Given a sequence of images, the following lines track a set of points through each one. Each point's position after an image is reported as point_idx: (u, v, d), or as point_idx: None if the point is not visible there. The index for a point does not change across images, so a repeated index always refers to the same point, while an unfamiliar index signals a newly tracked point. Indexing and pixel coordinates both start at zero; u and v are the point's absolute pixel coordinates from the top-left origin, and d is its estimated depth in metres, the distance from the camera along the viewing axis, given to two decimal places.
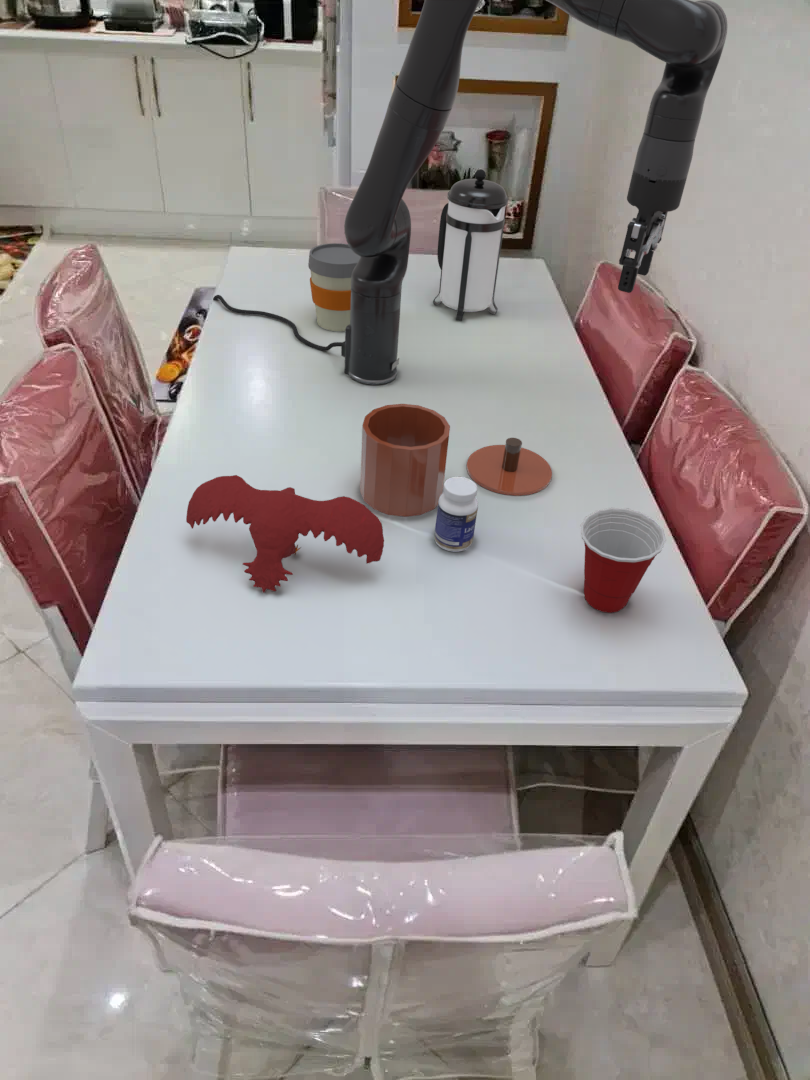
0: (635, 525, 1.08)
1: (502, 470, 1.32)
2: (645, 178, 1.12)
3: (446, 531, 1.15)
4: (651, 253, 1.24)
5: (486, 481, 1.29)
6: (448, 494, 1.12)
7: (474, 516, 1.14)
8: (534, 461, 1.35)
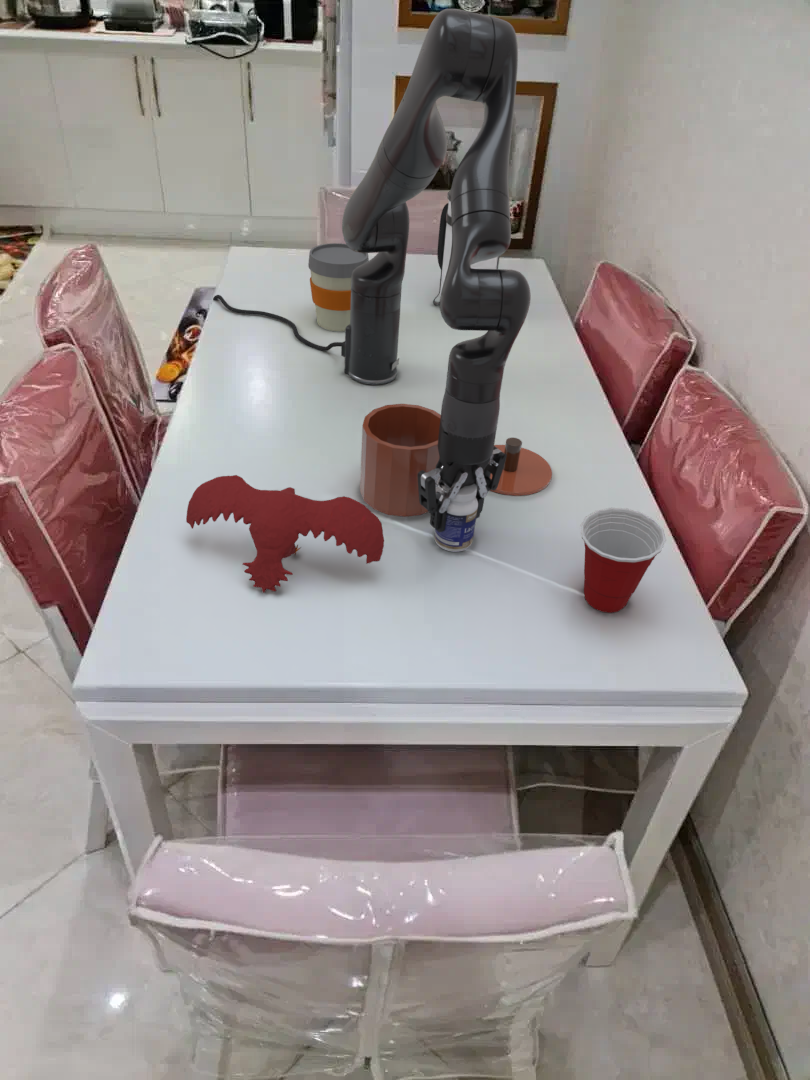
0: (635, 525, 1.08)
1: (502, 470, 1.32)
2: (441, 427, 1.05)
3: (446, 531, 1.15)
4: (478, 499, 1.15)
5: None
6: None
7: (474, 516, 1.14)
8: (534, 461, 1.35)
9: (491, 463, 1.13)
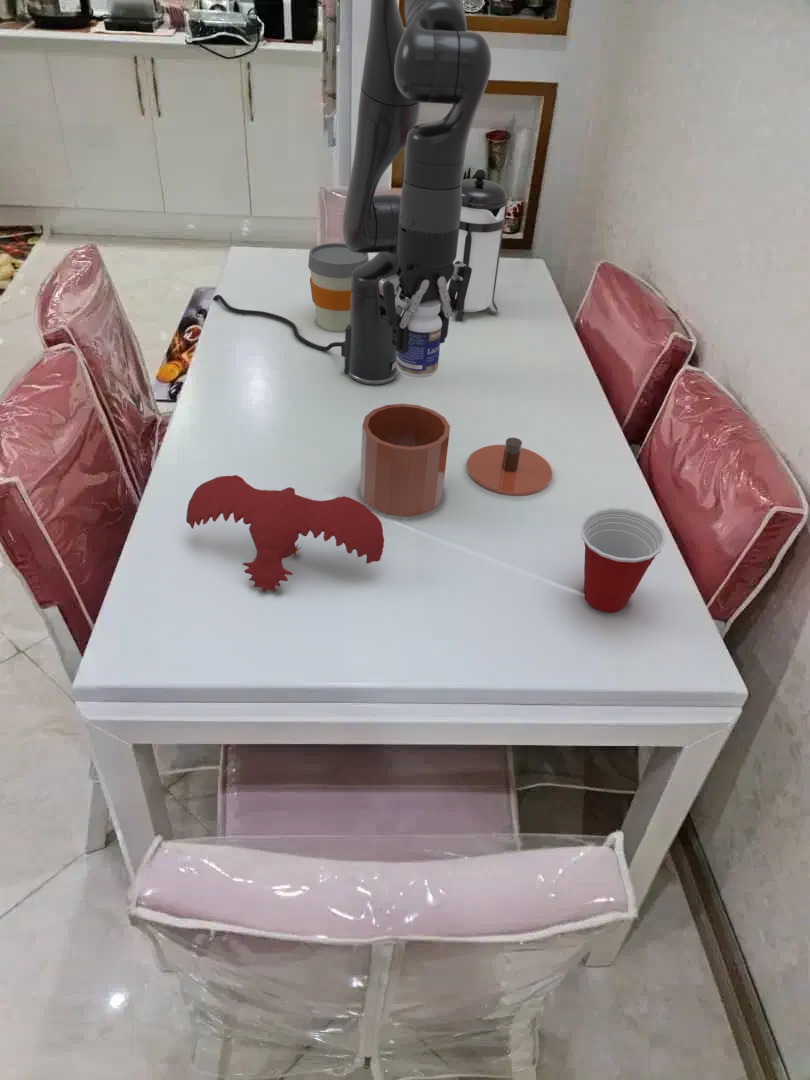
0: (635, 525, 1.08)
1: (502, 470, 1.32)
2: (400, 225, 0.99)
3: (408, 353, 1.08)
4: (442, 320, 1.09)
5: (486, 481, 1.29)
6: None
7: (438, 336, 1.08)
8: (534, 461, 1.35)
9: (455, 278, 1.07)
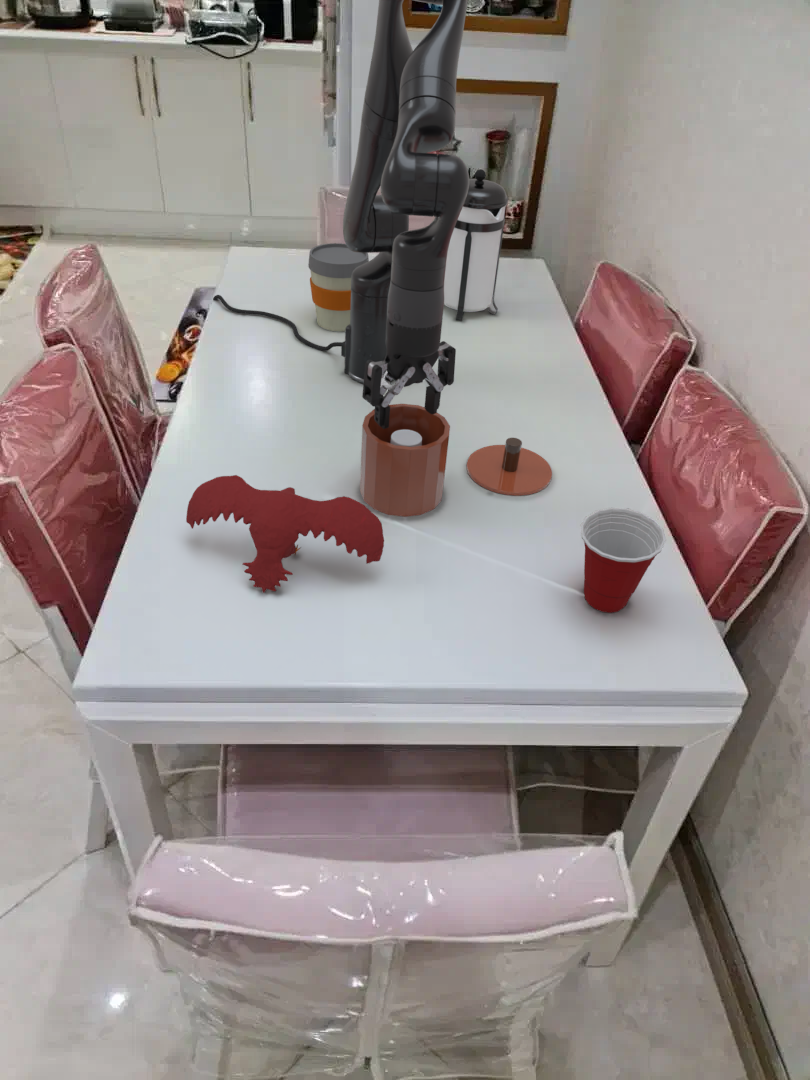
0: (635, 525, 1.08)
1: (502, 470, 1.32)
2: (388, 319, 1.08)
3: None
4: (434, 394, 1.18)
5: (486, 481, 1.29)
6: None
7: None
8: (534, 461, 1.35)
9: (442, 359, 1.15)
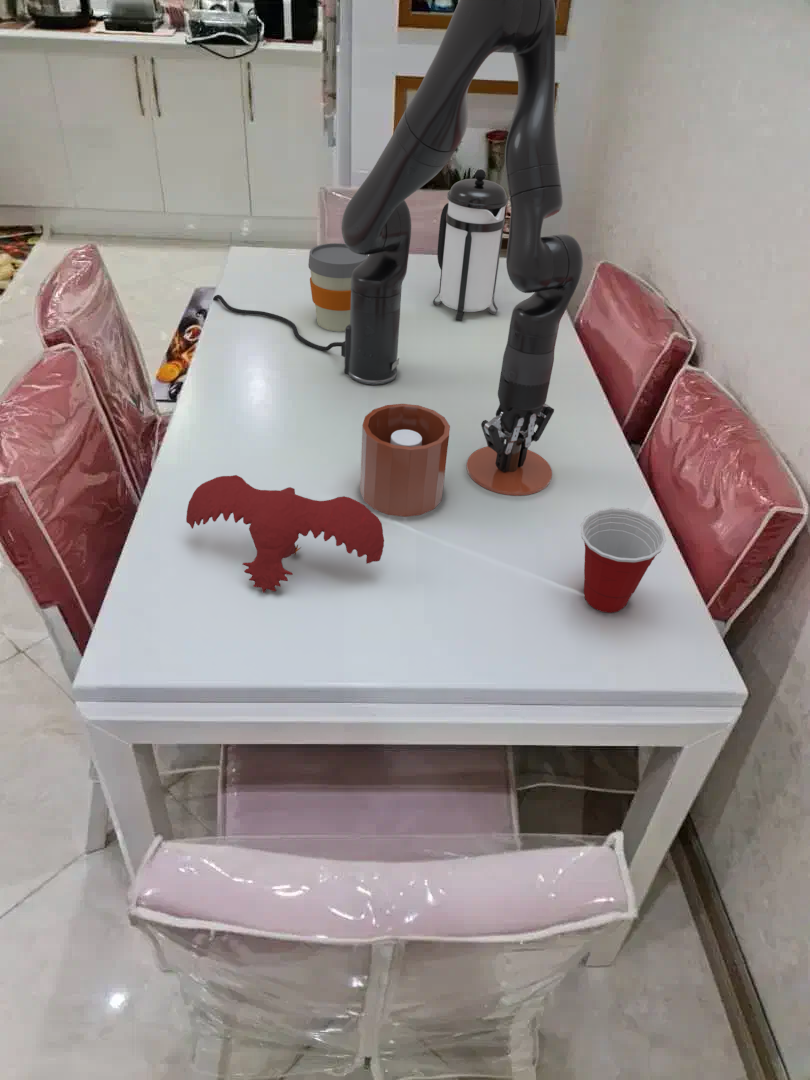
0: (635, 525, 1.08)
1: None
2: (503, 377, 1.21)
3: None
4: (522, 449, 1.31)
5: (486, 481, 1.29)
6: None
7: None
8: (534, 461, 1.35)
9: (540, 414, 1.29)
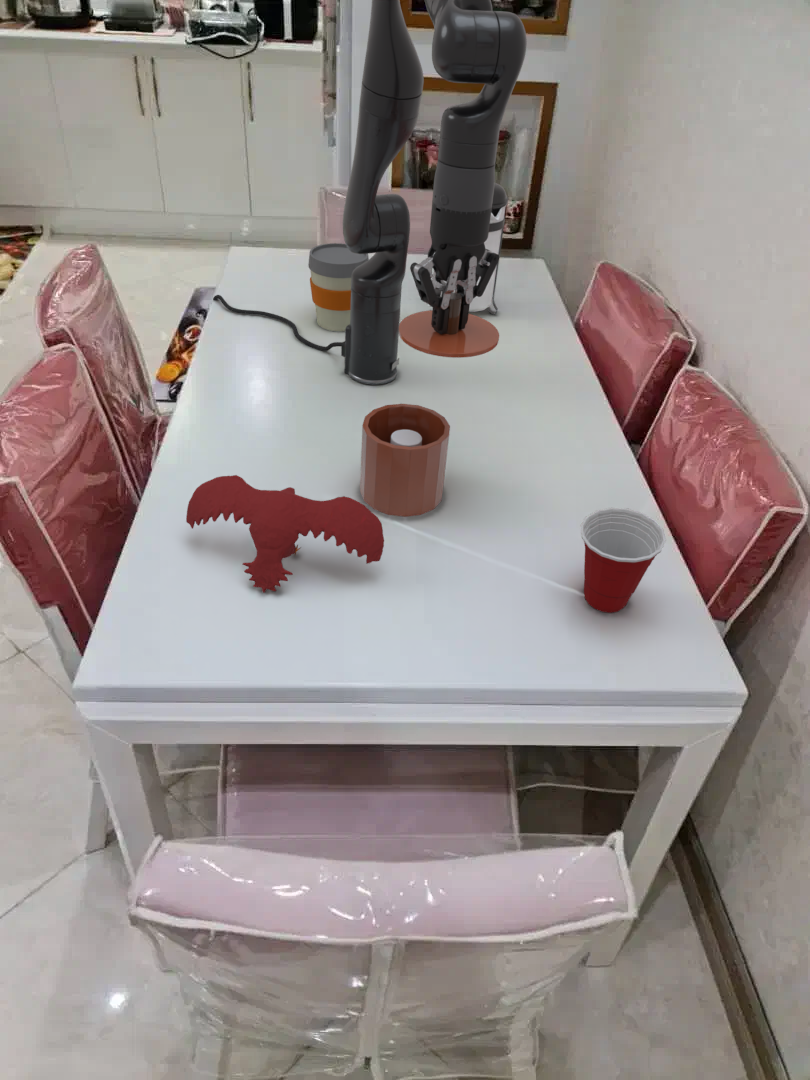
0: (635, 525, 1.08)
1: None
2: (434, 205, 1.00)
3: None
4: (463, 306, 1.10)
5: (420, 342, 1.08)
6: None
7: None
8: (479, 325, 1.14)
9: (483, 262, 1.08)
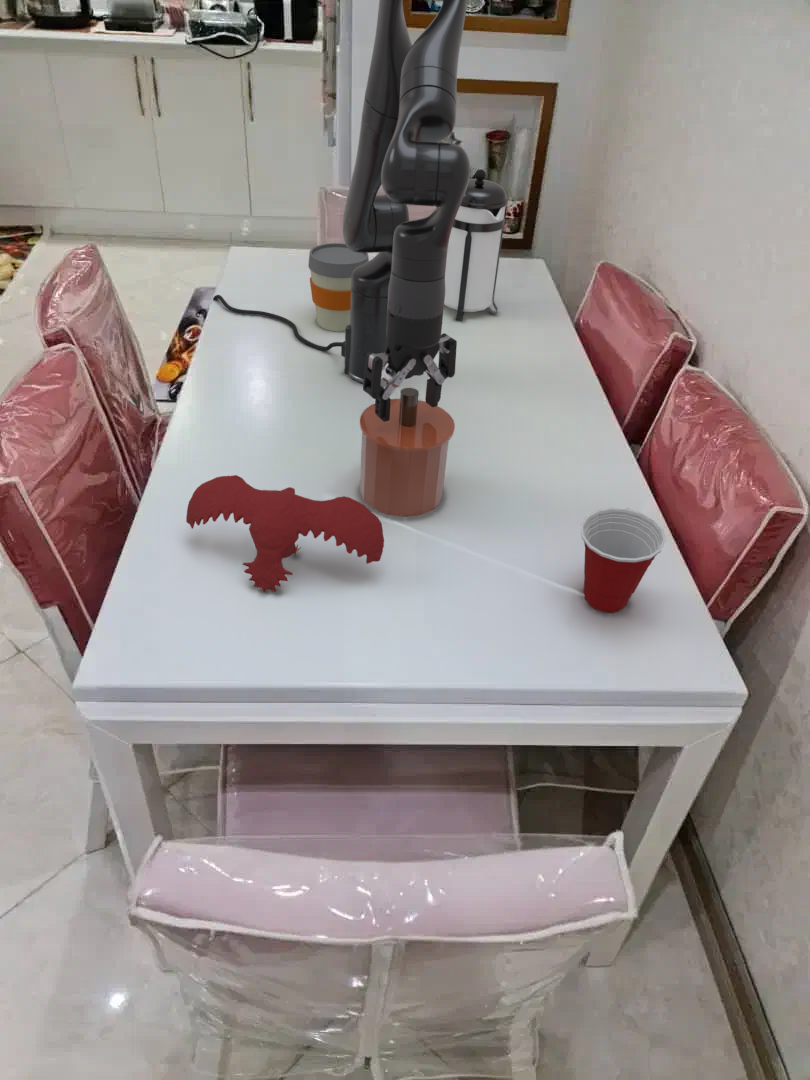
0: (635, 525, 1.08)
1: (398, 424, 1.18)
2: (388, 311, 1.07)
3: None
4: (435, 386, 1.17)
5: (378, 436, 1.15)
6: None
7: None
8: (436, 416, 1.21)
9: (443, 351, 1.15)
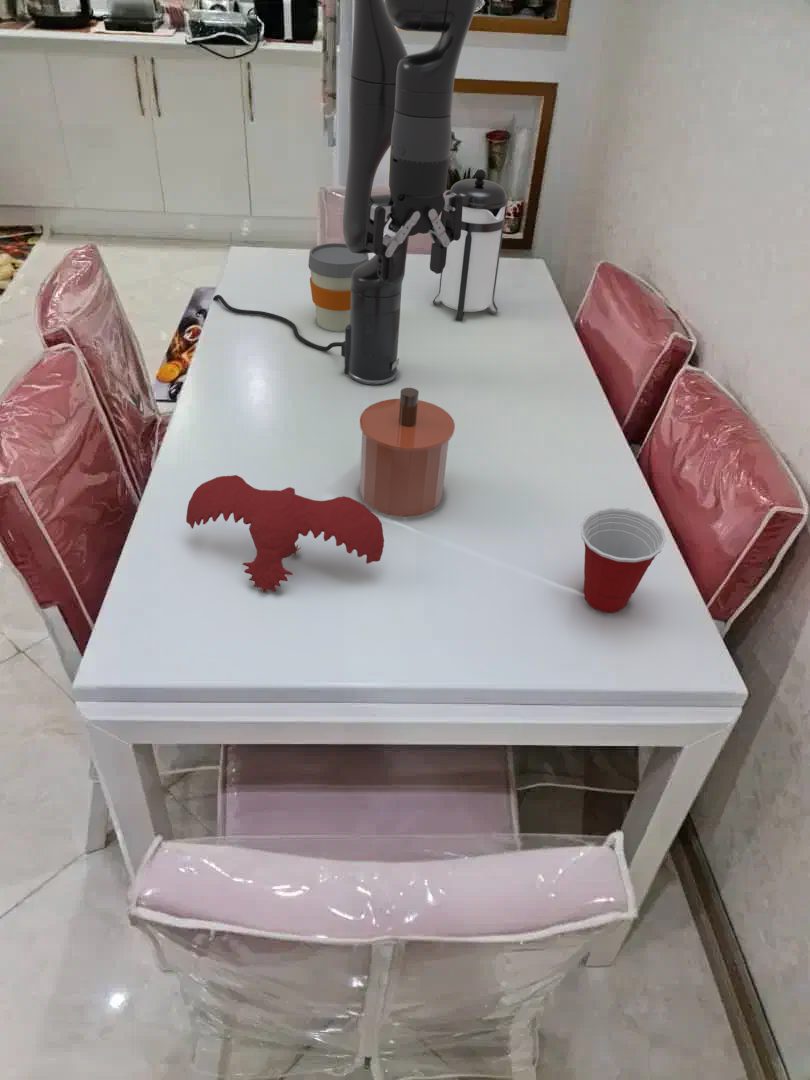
0: (635, 525, 1.08)
1: (398, 424, 1.18)
2: (391, 156, 1.02)
3: None
4: (440, 249, 1.12)
5: (378, 436, 1.15)
6: None
7: None
8: (436, 416, 1.21)
9: (448, 209, 1.09)
